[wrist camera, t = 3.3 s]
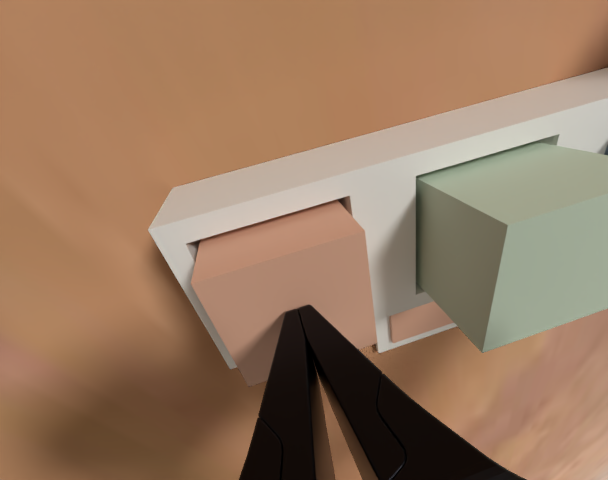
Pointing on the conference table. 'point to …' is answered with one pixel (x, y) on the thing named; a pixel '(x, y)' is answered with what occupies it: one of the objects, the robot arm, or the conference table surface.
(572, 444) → the conference table surface
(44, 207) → the conference table surface
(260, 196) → the key console
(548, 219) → the sage green key
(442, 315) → the card
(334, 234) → the terracotta key
